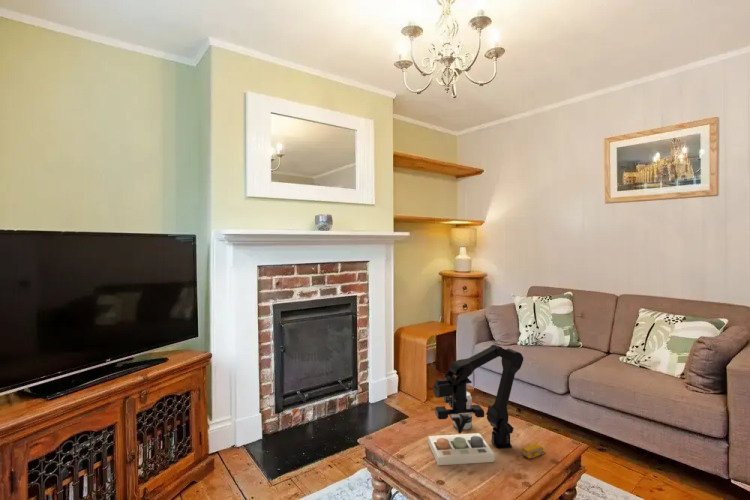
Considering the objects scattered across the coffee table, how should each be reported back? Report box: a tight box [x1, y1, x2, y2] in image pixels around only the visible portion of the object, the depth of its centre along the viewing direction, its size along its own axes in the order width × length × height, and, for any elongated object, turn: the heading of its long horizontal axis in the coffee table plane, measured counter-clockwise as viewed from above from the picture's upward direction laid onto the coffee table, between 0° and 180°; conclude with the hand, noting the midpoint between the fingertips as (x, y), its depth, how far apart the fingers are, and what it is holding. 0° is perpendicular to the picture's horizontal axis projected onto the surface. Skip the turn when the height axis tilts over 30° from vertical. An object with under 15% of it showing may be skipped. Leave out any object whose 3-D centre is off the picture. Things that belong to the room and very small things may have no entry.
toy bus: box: [521, 442, 546, 459], centre depth 151 cm, size 3×10×4 cm, turn 117°
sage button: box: [454, 437, 466, 449], centre depth 154 cm, size 5×5×3 cm
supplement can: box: [453, 391, 473, 430], centre depth 175 cm, size 8×8×15 cm
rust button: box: [437, 438, 449, 450], centre depth 153 cm, size 5×5×3 cm
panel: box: [427, 432, 495, 466], centre depth 154 cm, size 22×16×3 cm
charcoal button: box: [471, 436, 484, 448], centre depth 155 cm, size 5×5×3 cm
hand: (459, 432), depth 154 cm, fingers closed
